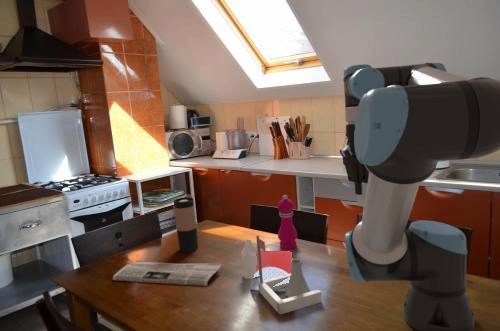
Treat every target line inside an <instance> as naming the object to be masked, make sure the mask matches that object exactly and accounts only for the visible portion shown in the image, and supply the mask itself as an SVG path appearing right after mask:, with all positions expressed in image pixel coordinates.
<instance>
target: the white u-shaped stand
mask: <svg viewBox="0 0 500 331" xmlns="http://www.w3.org/2000/svg"><path fill="white" fill-rule="evenodd" d="M265 244H266V242H265V241H264V239H263V238H261V237H260V235H256V249H257V250H258V262H259V275H260V276H259V281H258V282H257V283H258V285H257V286H258V292H259V293H260V295H262V296H263V298H264V299H265V300H266V301H267V302H268V303H269V304H270V306H272V308H273V309H274V310H275V312H277V313H278V315H283V314H287V313H291V312H293V311H296V310H300V309H303V308H307V307H309V306H313V305H317V304H320V303H322V300H323V299H322V291H321V290H320V289H315V290H312V291H311V290H310V292H307V293H304V294H300V295H297V296H293V297H290V298H288V297H287V298H284V299H282V298H280V296H278V294H276V292H275V290H280V289H282V288H287V287H288V284H289V283H286V284H282V285H279V286H275V285H276V284H278V283H280V282H282V281H283V280H285V279H287V278H288V277H291V272H290V273H288V274H289V275H287V276H282V275H279V276H275V277H272V278H268V279H264V278H263V267H262V255H261V250H262V251H263V252H266V245H265ZM273 286H275V287H273Z"/></svg>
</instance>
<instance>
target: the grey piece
mask: <svg viewBox="0 0 500 331" xmlns="http://www.w3.org/2000/svg"><path fill="white" fill-rule="evenodd" d="M257 251H258V250H257V246H255V244H254V243H253V242H252V240H251V239H248V238H247V239H246V240H245V241H244V246H243V249H242V251H241V253H240V259H241V268H242V275H243V278H244V279H245V280H254V279H253V277H254V274H255V272H256V265H257V256H256V252H257Z"/></svg>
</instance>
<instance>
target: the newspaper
mask: <svg viewBox="0 0 500 331" xmlns="http://www.w3.org/2000/svg"><path fill="white" fill-rule="evenodd" d="M222 264H223V262H222V261H219V262H217V261H215V262H191V263H188V262H187V263H175V262H174V263H171V262H159V261H158V262H155V261H142V260H139V261H138V260H137V261H135V262H130V263H128V264H126V265H125V266H123V267H122V268H120V269H119V270H118V271H117V272H116V273H114V275H113V276H112V281H120V282H141V283H154V284H155V283H156V284H157V283H158V284H170V285H171V284H173V285H185V286H187V285H189V286H201V287H203V286H206V287H208V282H209V281H210V279H211V277H212V276H213V275H215V274H217V273H219V270H220V268H221V267H222Z"/></svg>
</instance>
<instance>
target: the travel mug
mask: <svg viewBox="0 0 500 331" xmlns="http://www.w3.org/2000/svg"><path fill="white" fill-rule="evenodd" d="M173 207H174V216H175V226H176V232H177V240H178V247H179V251H180V252H182V253H192V252H195V251H197V250H198V249H199V246H198V245H199V242H198V230H197V229H198V228H197V227H198V226H197V221H196V220H197V219H196V211H195V202H194V198H193V197H190V196H188V197H179V198H176V199H174V200H173Z"/></svg>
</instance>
